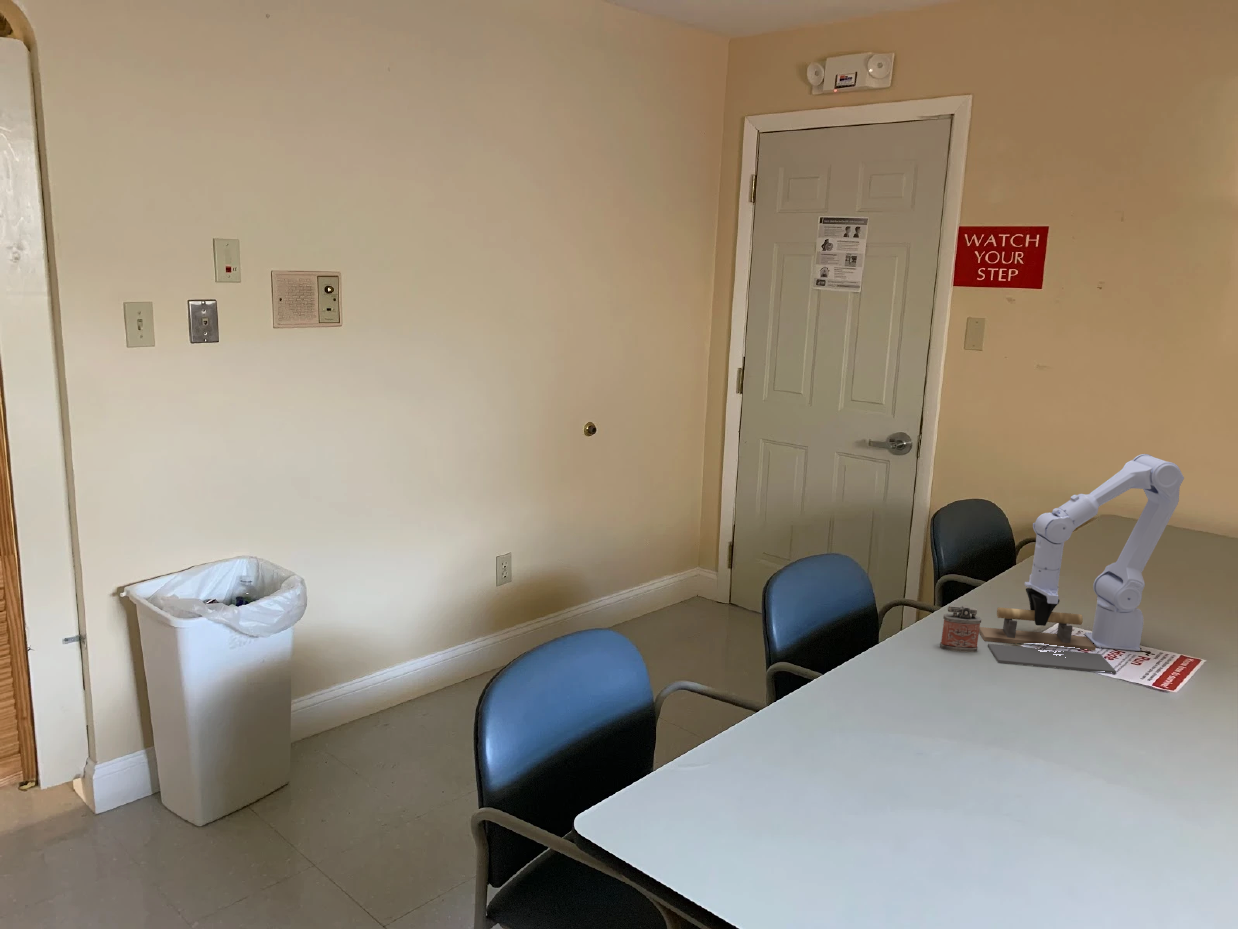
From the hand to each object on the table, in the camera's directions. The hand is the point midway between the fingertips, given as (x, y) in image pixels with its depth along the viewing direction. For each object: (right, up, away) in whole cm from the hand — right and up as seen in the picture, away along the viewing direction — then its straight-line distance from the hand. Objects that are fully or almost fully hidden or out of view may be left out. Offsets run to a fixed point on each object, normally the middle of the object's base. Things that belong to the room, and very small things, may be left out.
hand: (1038, 622), depth 208 cm
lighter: (-20, -5, -5) cm, 22 cm away
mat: (-2, -7, -9) cm, 11 cm away
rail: (0, 0, 0) cm, 0 cm away
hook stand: (0, -4, +1) cm, 5 cm away
